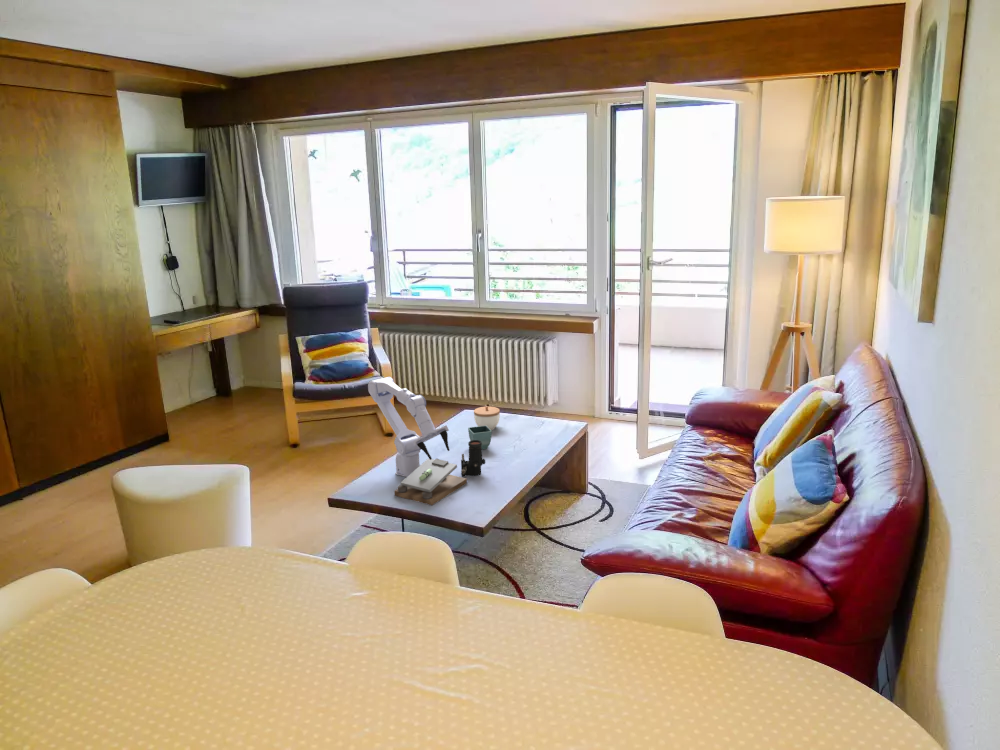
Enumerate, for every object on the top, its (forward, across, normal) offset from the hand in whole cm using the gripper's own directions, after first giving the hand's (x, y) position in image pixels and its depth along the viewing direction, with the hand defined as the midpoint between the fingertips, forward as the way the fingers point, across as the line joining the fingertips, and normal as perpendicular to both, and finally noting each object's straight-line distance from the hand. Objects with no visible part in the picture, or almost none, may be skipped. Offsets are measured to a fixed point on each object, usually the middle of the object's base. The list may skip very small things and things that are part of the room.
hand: (439, 454), depth 274 cm
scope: (+10, +8, +19) cm, 23 cm away
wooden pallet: (+10, -9, +6) cm, 15 cm away
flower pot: (-3, +15, +45) cm, 47 cm away
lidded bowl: (-15, +22, +68) cm, 73 cm away
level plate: (+5, -7, +3) cm, 9 cm away
